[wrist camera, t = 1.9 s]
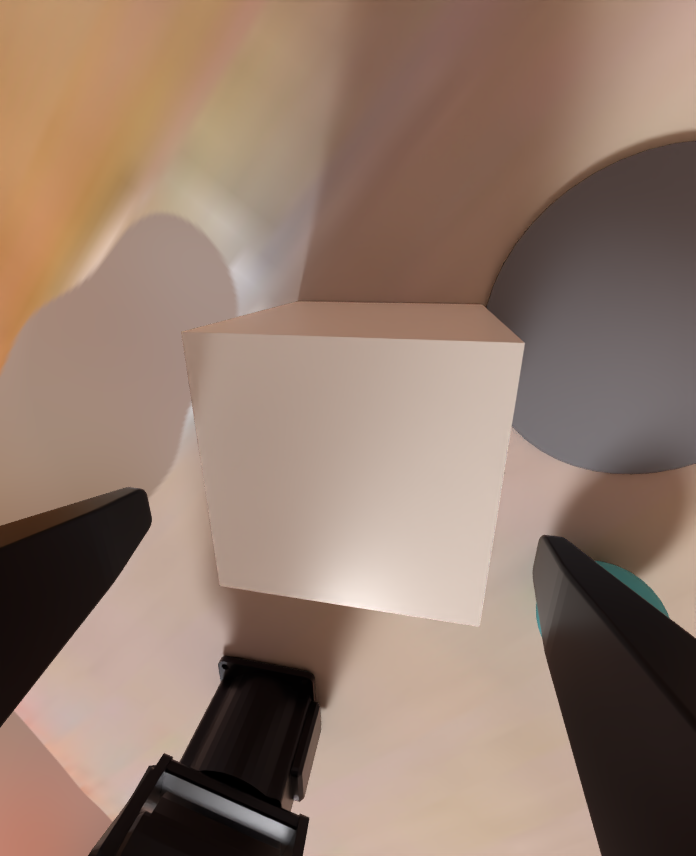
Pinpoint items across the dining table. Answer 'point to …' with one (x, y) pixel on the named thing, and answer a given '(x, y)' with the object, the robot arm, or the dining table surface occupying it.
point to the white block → (356, 451)
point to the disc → (609, 317)
